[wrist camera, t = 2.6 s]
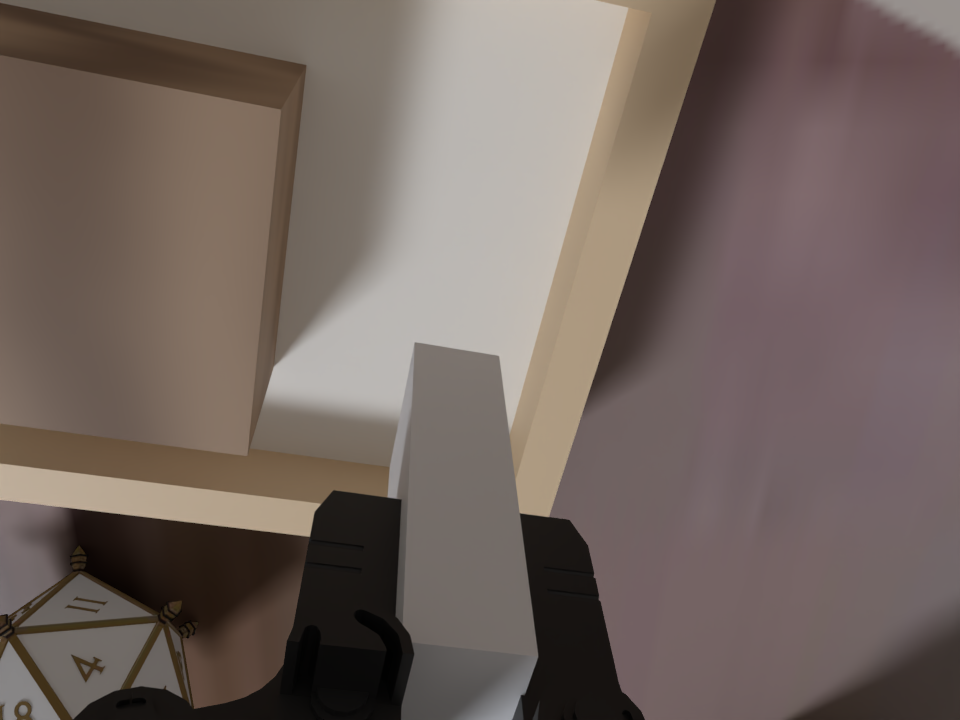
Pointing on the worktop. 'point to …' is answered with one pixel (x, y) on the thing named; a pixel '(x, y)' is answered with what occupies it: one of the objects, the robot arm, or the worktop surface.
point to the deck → (413, 236)
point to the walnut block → (140, 230)
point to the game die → (86, 648)
